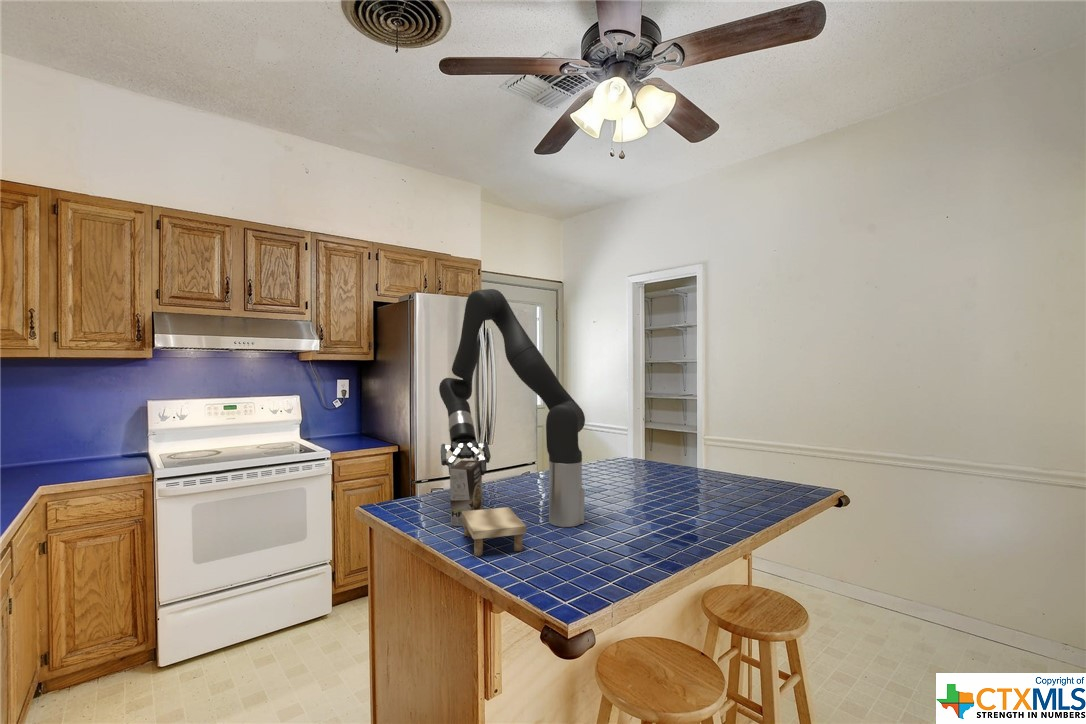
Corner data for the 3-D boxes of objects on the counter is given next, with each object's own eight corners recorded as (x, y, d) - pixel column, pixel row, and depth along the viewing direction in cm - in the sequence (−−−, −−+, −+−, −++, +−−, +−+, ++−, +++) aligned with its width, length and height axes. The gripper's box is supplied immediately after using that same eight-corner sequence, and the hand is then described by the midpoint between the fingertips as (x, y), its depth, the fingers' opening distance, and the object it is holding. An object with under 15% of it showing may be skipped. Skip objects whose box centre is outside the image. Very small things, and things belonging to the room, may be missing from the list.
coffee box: (472, 527, 136) (471, 469, 134) (450, 526, 137) (448, 468, 136) (483, 515, 145) (482, 460, 143) (462, 513, 146) (461, 459, 145)
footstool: (508, 529, 134) (508, 507, 134) (526, 551, 118) (526, 526, 119) (461, 534, 130) (461, 511, 130) (473, 557, 115) (473, 531, 115)
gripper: (439, 422, 148) (444, 469, 137) (486, 420, 153) (495, 465, 142) (436, 437, 153) (441, 484, 142) (483, 435, 158) (491, 480, 147)
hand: (468, 474), depth 142 cm, fingers closed on coffee box, 8 cm apart
